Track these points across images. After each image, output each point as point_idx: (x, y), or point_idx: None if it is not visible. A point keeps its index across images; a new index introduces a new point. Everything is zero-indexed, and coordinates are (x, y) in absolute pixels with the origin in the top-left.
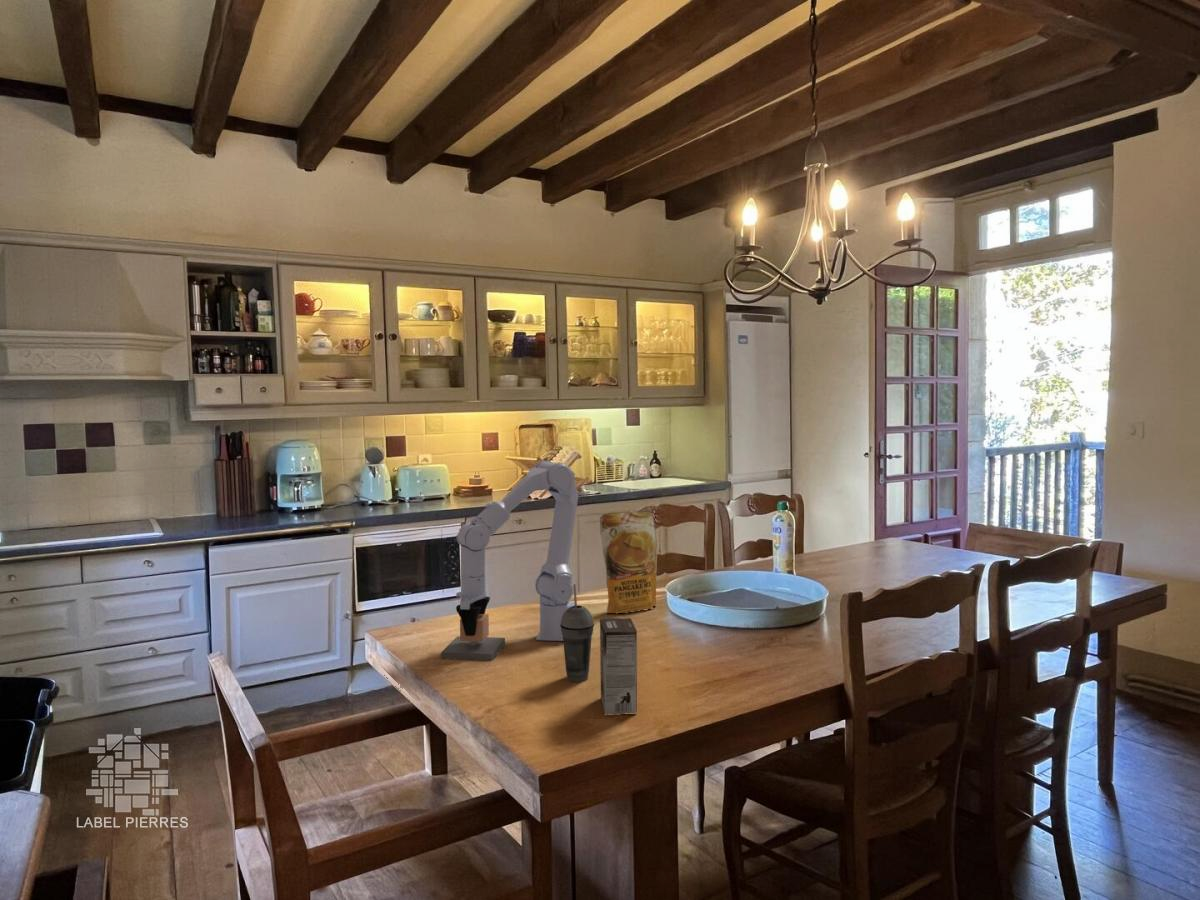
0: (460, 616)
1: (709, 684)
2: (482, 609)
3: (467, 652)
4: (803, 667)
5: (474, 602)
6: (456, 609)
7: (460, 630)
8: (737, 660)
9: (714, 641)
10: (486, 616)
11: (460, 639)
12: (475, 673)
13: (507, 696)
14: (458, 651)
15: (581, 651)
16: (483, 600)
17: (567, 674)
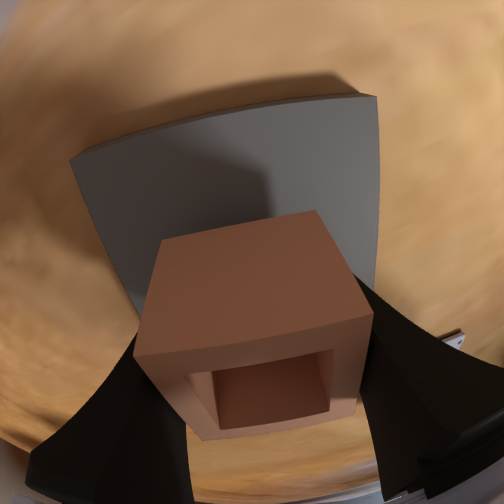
0: (76, 418)
1: (219, 492)
2: (373, 421)
3: (127, 281)
4: (289, 498)
5: (405, 449)
6: (29, 463)
7: (150, 287)
8: (300, 488)
9: (364, 468)
10: (300, 427)
11: (160, 247)
12: (52, 335)
13: (30, 402)
14: (118, 236)
15: None
16: (390, 487)
17: None
